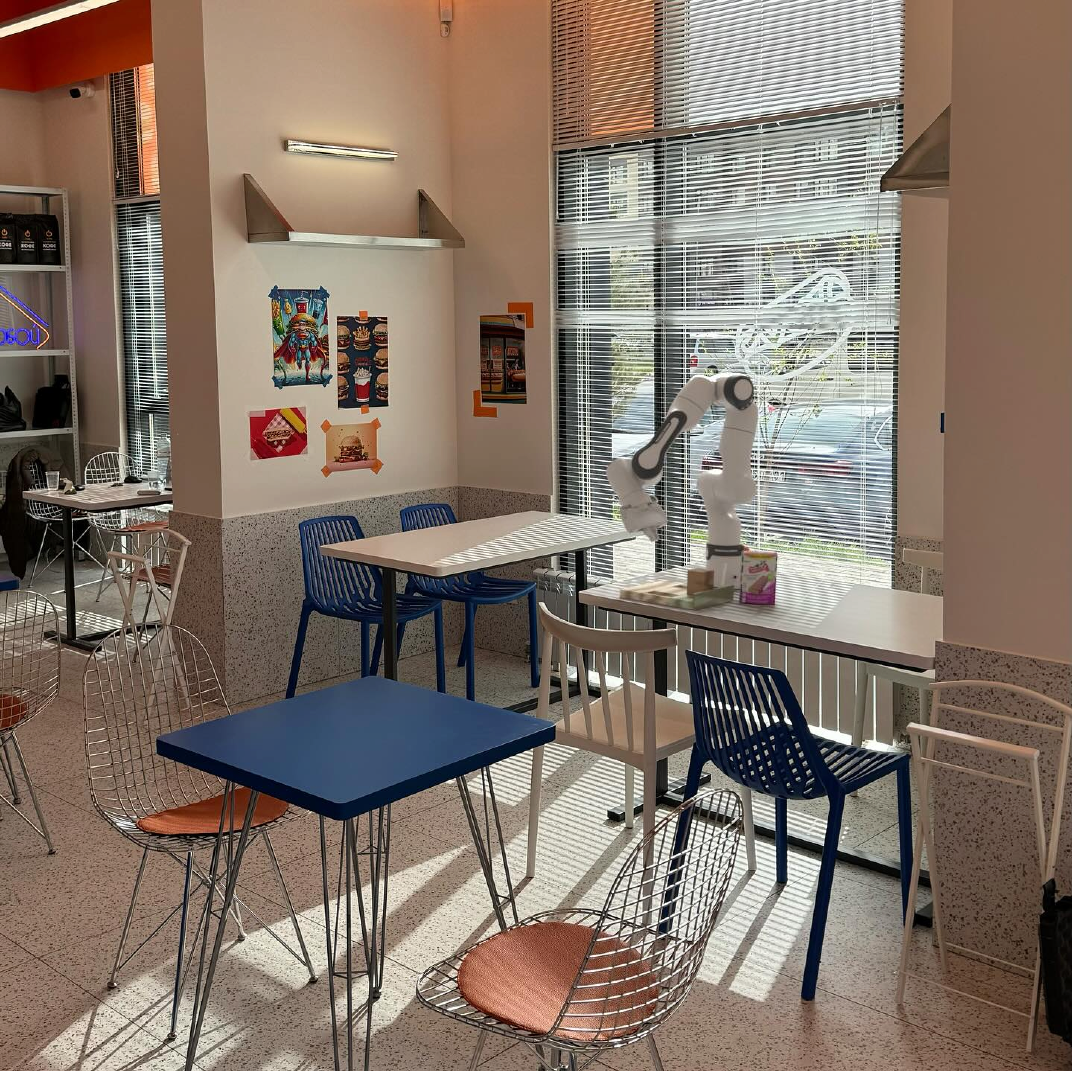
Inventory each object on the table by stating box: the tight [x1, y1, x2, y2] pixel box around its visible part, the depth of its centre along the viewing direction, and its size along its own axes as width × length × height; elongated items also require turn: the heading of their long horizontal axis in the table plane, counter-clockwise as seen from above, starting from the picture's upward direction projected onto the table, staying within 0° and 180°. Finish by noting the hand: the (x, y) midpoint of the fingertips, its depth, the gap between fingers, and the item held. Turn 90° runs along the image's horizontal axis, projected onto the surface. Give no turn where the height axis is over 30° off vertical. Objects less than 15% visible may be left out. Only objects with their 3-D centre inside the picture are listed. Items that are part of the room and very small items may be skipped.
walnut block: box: [686, 567, 715, 596], centre depth 393 cm, size 6×6×8 cm
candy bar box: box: [738, 550, 779, 606], centre depth 394 cm, size 11×5×16 cm, turn 84°
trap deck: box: [619, 580, 735, 611], centre depth 400 cm, size 29×22×5 cm
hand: (655, 540), depth 405 cm, fingers closed
